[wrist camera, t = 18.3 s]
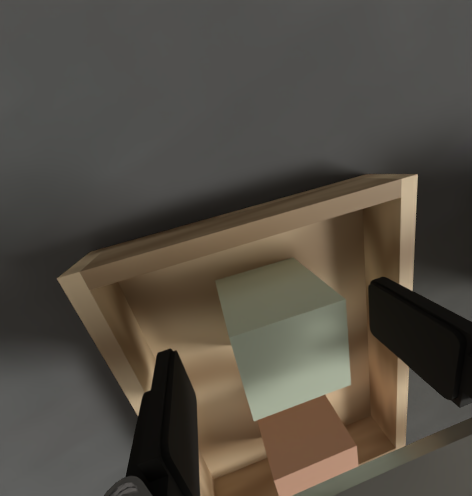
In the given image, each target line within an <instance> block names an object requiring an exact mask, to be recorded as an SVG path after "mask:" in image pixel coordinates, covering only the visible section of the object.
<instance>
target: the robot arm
mask: <svg viewBox="0 0 472 496" xmlns="http://www.w3.org/2000/svg"><path fill="white" fill-rule="evenodd" d="M368 298H369V326H370V331H371V333H372V335H373V336H374V337H375V338H377V339H378V340H379V341H380V342H381V343H382V344H383V345H385V346H386V347H387V348H388V349H389V350H390V351H391V352H393V353H394V354H395V355H396V356H397V357H398V358H399V359H401V360H402V361H403V362H404V363H405V364H406V365H407V366H408V367H410V368H411V369H412V370H413V371H414V372H415V373H416V374H418V375H419V376H420V377H421V378H422V379H423V380H424V381H426V382H427V383H428V384H429V385H430V386H431V387H432V388H434V389H435V390H436V391H437V392H438V393H439V394H440V395H442V396H443V397H444V398H446V399H448V400H451V401H453V402H454V403H455V404H456V405H457V406H458V407H459V408H461V407H463V406H465V405H468V404H470V403H472V322H471V321H469V320H467V319H465V318H463V317H461V316H459V315H457V314H455V313H453V312H451V311H450V310H448V309H446V308H444V307H442V306H440V305H438V304H436V303H434V302H432V301H430V300H429V299H427V298H425V297H423V296H421V295H419V294H417V293H415V292H413V291H411V290H409V289H408V288H406V287H404V286H402V285H400V284H398V283H396V282H394V281H392V280H390V279H389V278H387V277H380V278H377V279H374V280H372V281H371V282H370V284H369V286H368ZM104 496H200V477H199V449H198V421H197V399H196V394H195V391H194V389H193V386H192V384H191V382H190V379H189V377H188V375H187V372H186V370H185V368H184V366H183V363H182V361H181V359H180V356H179V354H178V352H177V350H175V351H173V350H172V349H171V348H170V349H167V350H164V351H161V352H158V353H157V356H156V362H155V368H154V374H153V379H152V385H151V390H150V391H147V392H145V393H144V394H143V397H142V400H141V405H140V410H139V415H138V420H137V424H136V429H135V434H134V439H133V444H132V449H131V453H130V458H129V463H128V468H127V473H126V477H125V478H122V479H121V480H119V481H118V482H116V483H115V484H114V485H113V486H112V487H111V488H110V489H109V490H108V491H107V492H106V494H105V495H104ZM292 496H472V418H470V419H467V420H465V421H463V422H460V423H458V424H456V425H453V426H451V427H449V428H446V429H444V430H442V431H439V432H437V433H434V434H432V435H430V436H427V437H425V438H423V439H420V440H418V441H416V442H413V443H411V444H409V445H407V446H404V447H402V448H400V449H397V450H395V451H393V452H390V453H388V454H386V455H383V456H381V457H379V458H377V459H374V460H372V461H370V462H367V463H365V464H363V465H360V466H358V467H356V468H354V469H351V470H349V471H347V472H344V473H342V474H340V475H338V476H335V477H333V478H331V479H328V480H326V481H324V482H322V483H319V484H317V485H315V486H313V487H310V488H308V489H306V490H304V491H301V492H299V493H297V494H294V495H292Z"/></svg>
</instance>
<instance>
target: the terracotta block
mask: <svg viewBox="0 0 472 496" xmlns="http://www.w3.org/2000/svg"><path fill="white" fill-rule="evenodd" d="M257 422H258V425H259V429H260V432H261V436H262V440H263V443H264V447H265V450H266V454H267V458H268V461H269V465H270V468H271V472H272V476H273V479H274V483H275V486H276V489H277V492H278V495H279V496H292V495H294V494H297V493H299V492H301V491H304V490H306V489H308V488H310V487H313V486H315V485H317V484H319V483H322V482H324V481H326V480H328V479H331V478H333V477H335V476H338V475H340V474H342V473H344V472H347V471H349V470H351V469H354V468H356V467H358V454H357V445H356V444H355V442H354V440H353V439H352V437H351V436H350V434H349V432H348V431H347V429H346V427H345V426H344V424H343V423H342V421H341V419H340V418H339V416H338V414H337V413H336V411H335V410H334V408H333V406H332V405H331V403H330V402H329V400H328V398H327V397H326V395H323V396H320V397H317V398H315V399H312V400H309V401H307V402H304V403H301V404H299V405H296V406H294V407H291V408H288V409H286V410H283V411H280V412H278V413H275V414H272V415H270V416H267V417H264V418H262V419H259V420H257Z"/></svg>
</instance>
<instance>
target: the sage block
mask: <svg viewBox="0 0 472 496" xmlns="http://www.w3.org/2000/svg"><path fill="white" fill-rule="evenodd" d="M215 283H216V287H217V291H218V295H219V299H220V303H221V307H222V311H223V315H224V319H225V323H226V327H227V331H228V335H229V339H230V343H231V346H232V349H233V353H234V356H235V360H236V363H237V366H238V370H239V373H240V376H241V380H242V383H243V387H244V390H245V393H246V397H247V400H248V403H249V407H250V410H251V414H252V417H253V420H254V421H256V420H259V419H262V418H264V417H267V416H270V415H272V414H275V413H278V412H280V411H283V410H286V409H288V408H291V407H294V406H296V405H299V404H301V403H304V402H307V401H309V400H312V399H315V398H317V397H320V396H323V395H325V394H328V393H331V392H333V391H336V390H339V389H341V388H344V387H347V386H349V385H351V377H350V360H349V344H348V327H347V310H346V299H345V298H344V297H342V296H341V295H340V294H339V293H337V292H336V291H335V290H334V289H332V288H331V287H330V286H329V285H327V284H326V283H325V282H324V281H322V280H321V279H320V278H319V277H317V276H316V275H315V274H314V273H312V272H311V271H310V270H309V269H307V268H306V267H305V266H303V265H302V264H301V263H300V262H298V261H297V260H296V259H295V258H289V259H286V260H283V261H279V262H276V263H273V264H269V265H266V266H262V267H259V268H256V269H252V270H249V271H246V272H242V273H239V274H236V275H232V276H229V277H225V278H222V279H219V280H215Z"/></svg>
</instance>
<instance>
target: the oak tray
mask: <svg viewBox="0 0 472 496" xmlns="http://www.w3.org/2000/svg"><path fill="white" fill-rule="evenodd" d="M417 182H418V174H365V175H362V176H358V177H354V178H351V179H347V180H344V181H340V182H337V183H333V184H330V185H326V186H322V187H319V188H315V189H312V190H308V191H305V192H301V193H297V194H294V195H290V196H287V197H283V198H280V199H276V200H273V201H269V202H265V203H262V204H258V205H255V206H251V207H248V208H244V209H241V210H237V211H233V212H230V213H226V214H223V215H219V216H216V217H212V218H209V219H205V220H201V221H198V222H194V223H191V224H187V225H184V226H180V227H177V228H173V229H169V230H166V231H162V232H159V233H155V234H152V235H148V236H145V237H141V238H137V239H134V240H130V241H127V242H123V243H120V244H116V245H112V246H109V247H105V248H102V249H98V250H95V251H91V252H89V253H88V254H87V255H86V256H84V257H83V258H82V259H81V260H79V261H78V262H77V263H76V264H74V265H73V266H72V267H71V268H69V269H68V270H67V271H65V272H64V273H63V274H62V275H60V276H59V277H58V278H57V280H58V282H59V283H60V285H61V287H62V288H63V290H64V292H65V293H66V295H67V297H68V299H69V300H70V302H71V304H72V305H73V307H74V309H75V310H76V312H77V314H78V315H79V317H80V319H81V320H82V322H83V324H84V326H85V327H86V329H87V331H88V332H89V334H90V336H91V337H92V339H93V341H94V342H95V344H96V346H97V348H98V349H99V351H100V353H101V354H102V356H103V358H104V359H105V361H106V363H107V364H108V366H109V368H110V370H111V371H112V373H113V375H114V376H115V378H116V380H117V381H118V383H119V385H120V386H121V388H122V390H123V391H124V393H125V395H126V397H127V398H128V400H129V402H130V403H131V405H132V407H133V408H134V410H135V412H136V413H137V415H139V410H140V405H141V400H142V397H143V394H144V393H145V392H147V391H150V390H151V385H152V379H153V374H154V368H155V362H156V356H157V353H158V352H161V351H164V350H167V349H170V348H171V349H172V350H173V351H175V350H177V352H178V354H179V356H180V359H181V361H182V363H183V366H184V368H185V370H186V372H187V375H188V377H189V379H190V382H191V384H192V386H193V389H194V391H195V394H196V399H197V421H198V449H199V477H200V496H279V495H278V492H277V489H276V486H275V483H274V479H273V476H272V472H271V468H270V465H269V461H268V458H267V454H266V450H265V447H264V443H263V440H262V436H261V432H260V429H259V425H258V422H257V420H256V421H254V420H253V417H252V414H251V410H250V407H249V403H248V400H247V397H246V393H245V390H244V387H243V383H242V380H241V376H240V373H239V370H238V366H237V363H236V360H235V356H234V353H233V349H232V346H231V343H230V339H229V335H228V331H227V327H226V323H225V319H224V315H223V311H222V307H221V303H220V299H219V295H218V291H217V287H216V283H215V280H219V279H222V278H225V277H229V276H232V275H236V274H239V273H242V272H246V271H249V270H252V269H256V268H259V267H262V266H266V265H269V264H273V263H276V262H279V261H283V260H286V259H289V258H295V259H296V260H297V261H298V262H300V263H301V264H302V265H303V266H305V267H306V268H307V269H309V270H310V271H311V272H312V273H314V274H315V275H316V276H317V277H319V278H320V279H321V280H322V281H324V282H325V283H326V284H327V285H329V286H330V287H331V288H332V289H334V290H335V291H336V292H337V293H339V294H340V295H341V296H342V297H344V298H345V299H346V310H347V327H348V344H349V360H350V377H351V385H349V386H347V387H344V388H341V389H339V390H336V391H333V392H331V393H328V394H325V395H326V397H327V398H328V400H329V402H330V403H331V405H332V406H333V408H334V410H335V411H336V413H337V414H338V416H339V418H340V419H341V421H342V423H343V424H344V426H345V427H346V429H347V431H348V432H349V434H350V436H351V437H352V439H353V440H354V442H355V444H356V445H357V454H358V466H360V465H363V464H365V463H367V462H370V461H372V460H374V459H377V458H379V457H381V456H383V455H386V454H388V453H390V452H393V451H395V450H397V449H400V448H402V447H404V446H405V443H406V422H407V400H408V378H409V367H408V366H407V365H406V364H405V363H404V362H403V361H402V360H401V359H399V358H398V357H397V356H396V355H395V354H394V353H393V352H391V351H390V350H389V349H388V348H387V347H386V346H385V345H383V344H382V343H381V342H380V341H379V340H378V339H377V338H375V337H374V336H373V335H372V333H371V331H370V326H369V298H368V286H369V284H370V282H371V281H372V280H374V279H377V278H380V277H387V278H389V279H390V280H392V281H394V282H396V283H398V284H400V285H402V286H404V287H406V288H408V289H409V290H411V291H413V269H414V247H415V225H416V204H417Z"/></svg>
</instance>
